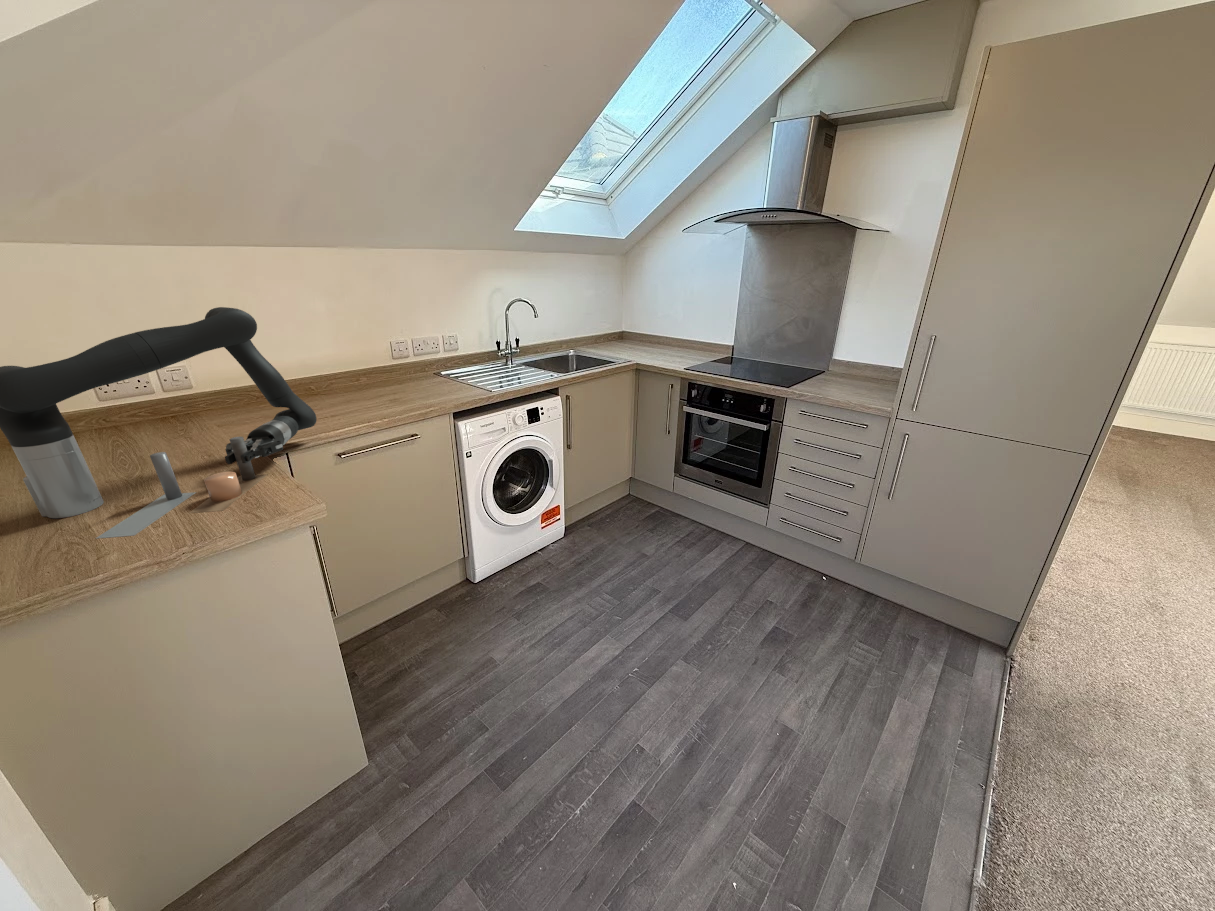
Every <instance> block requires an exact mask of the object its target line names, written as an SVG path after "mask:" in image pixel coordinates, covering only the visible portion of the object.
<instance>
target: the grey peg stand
mask: <svg viewBox="0 0 1215 911" xmlns="http://www.w3.org/2000/svg"><path fill="white" fill-rule="evenodd" d="M149 457H150V460H151V463H152V465H153V467H154V470H155V473H156V474H157V475H156V476H157V477H158V480H159V482H160V485H161V487H162V490H163V492H164V494H162V495H161V496H159V497H158V498H156V499H154V500H153V501H152V502H151V501H150V503H148V504H147V505H146V506H144V507H142V508H141V509H139V510H138V511H136V512H134V513H133V514H131V515H129V516H128V517H127V518H125V519H124V520H122V521H120V522H118V523H117V524H116V525H113V527H111V528H109V529H108V530H106V531H104V532H103V533H102V534H100V535H98V536H97V537H95V539H96V540H97V539H108V538H109V539H110V538H120V537H122V538H123V537H134V536H136V535H138V534H139V533H140V532H141V531H143V530H144V529H146V528H147V527H149V526H150V525H151V524H153V523H154V522H156V521H158V520H159V519H161V518H162V517H163V516H165V515H166V514H168V513H169V512H171V511H172V510H174V509H175V508H176V507H178V506H179V505H181V504H182V503H183V502H185V501H186V500H188V499H189V498H191V497H192V496H193V495H195V494H197V492H196V491H195V492H194V491H193V492H182V491H181V488H180V485H179V483H178V481H177V478H176V475H175V473H174V470H173V468H172V465H171V462H170V459H169V457H168V455H167V452H165V451H161V452H160V451H159V452H155V453H152V454H150V455H149Z"/></svg>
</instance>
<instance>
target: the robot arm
mask: <svg viewBox="0 0 1215 911" xmlns="http://www.w3.org/2000/svg"><path fill="white" fill-rule="evenodd" d="M257 329H258V324H257V320H255V318H254V317H253V316H252V315H251V314H250V313H249V312H246V311H244V310H242V309H238V308H235V307H224V306H220V307H214V308H211V309H210V310H208V311H207V312H206V314H205V316H204V318H203V319H201V320H198V321H195V322H192V323H188V324H186V323H185V324H180V325H172V326H166V327H165V326H164V327H157V328H150V329H145V330H139V331H135V332H131V333H128V334H123V335H121V336H117V337H114V338H111V339H108V340H105V341H102V342H101V343H98V344H97V345H94V346H91V347H90V348H87V349H86V350H84V351H82V352H80V353H78V354H76V355H73V356H70V357H68V358H64V359H60V360H56V361H51V362H48V363H43V364H40V365H33V366H27V367H23V366H19V365H2V366H0V430H1V432H2V433H3V435H4V437H5V438H6V439H7V440H8V442H9V444H10V446H11V449H12V451H13V452H14V454H15V456H16V458H17V460H18V461H19V463H20V465H21V467H22V469H23V472H24V474H25V475H26V476H25V477H23V479H22V481H23V482H24V484H25V486H26V489H27V490H28V492H29V494H30V496H31V498H32V500H33V501H34V503H35V506H36V508H37V510H38V512H39V513H40V515H41V517H47V518H50V519H61V518H70V517H74V516H79V515H82V514H85V513H88V512H91V511H94V510H95V509H97V508H99V507H100V506H103V504H104V499H103V497H102V495H101V493H100V489H98V488H99V487H98V486H97V483H96V482H95V478H94V477H93V474H92V472H91V470H90V468H89V465H88V464H87V461H86V459H85V457H84V455H83V452H82V451H81V448H80V446H79V444H78V441H77V440H76V438H75V436H74V433H73V431H72V429H71V427H70V425H69V423H68V422H67V420H66V418H65V417H64V416H63V415H62V413H61V411H60V409H59V407H58V405H57V404H58V403H61V402H63V401H65V400H68V399H70V398H73V397H74V396H77V395H81V394H82V393H84V392H85V393H86V392H87V391H89V390H90V391H91V390H92V389H95V388H98V387H99V388H100V387H103V386H108V385H112V384H115V383H119V382H122V381H126V380H129V379H133V378H136V377H139V376H143V375H146V374H149V373H153V372H155V371H158V370H161V369H164V368H166V367H170V366H172V365H174V364H177V363H180V362H182V361H186V360H188V359H190V358H193V357H195V356H196V357H197V356H198V355H201V354H203V353H206V352H209V351H213V350H218V349H221V348H222V349H223V348H224V349H226V351H228V353H230V355H231V356H232V357H233V358H234V359H235V360H236V362H237V363H238V364H239V365H240V366H241V368H243V370H244V371H245V373H246V374H247V375H248V376H249V378H250V379H251V381H252V382H253V383H254V384H255V385H256V387H257V389H258V390H259V391H260V392H261V394H262V395H263V397H264V398H265V400H266V401H267V402H268V403H269V404H270V406H272V407H274V408H287V409H285V410H282V411H280V412H278V413H276V414H275V416H274V417H273V418H272V420H270V421H267V422H265V423H262V424H261V425H259V426H257V427H256V428H254V429H253V430H252V431H250V432H249V433H248V435H247V436H246V439H244V441H245V444H246V448H247V452H245V453H244V454H242V455H241V460H242V463H248V462H249V461H251V462H252V460H254V459H258V458H259V457H261V458H266V457H269V456H270V455H273V454H276V453H278V452H280V451H283V450H284V446H285V444H286V443H287V442H288V441H290V440H291V439H292V438H293V437H295V436H296V435H297V433H298V432H299V431H303V430H305V429H310V428H312V427H315V425H316V424H317V421H318V420H317V415H316V412H315V411H314V410H313V409H312V407H311V406H309V405H310V404H309V405H308V404H307V403H306V402H305V401H304V400H303V399H301V398H300V397H299V396H298V395H297V394H296V393H295V392H294V391H293V390H292V389H291V387H290V386H289V384H288V382H287V381H286V379H285V378H284V377H283V376H282V374H281V373H280V372H279V370H277V368H275V367H274V366H273V364H272V363H270V362H269V361H268V359H266V358H265V357H264V356H263V355H262V353H261V352H260V351H259V349H257V347H256V346H255V344H254V343H253V341H252V339H253V338H254V337H255V335H256V334H257V331H258V330H257ZM225 453H226V455H225V456H224V460H225V463H227V464H226V465H233V464H235V462H237V461H236V458H235V455H234V452H233V449H232V446H231V443H230V442H229V443H227V444H226V446H225Z"/></svg>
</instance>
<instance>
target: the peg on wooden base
mask: <svg viewBox="0 0 1215 911" xmlns="http://www.w3.org/2000/svg"><path fill="white" fill-rule="evenodd" d="M229 443H231V446H232V449H233V452H234V455H235V458H236V461H235V462H236V464H237V467H238V469H239V474H240V475H238V476H237V478H238V481H239V484H240V487H241V490H242V494H241V495H240V496H238V497H236V498H233V499H230V500H226V501H220V502H215V501H212V500H211V498H210V497H209V498H207V499H206V500H203V502H202V503H200V504H199V505H198V506H196V507H195V508H193V509H192V510H191V511H189V512H188V514H197V513H211V512H222V511H223V512H224V511H225V510H226V509H227V508H229V507H230V506H231V505H232V504H234V503H235V502H236V501H237V500H238V499H239V498H241V497H242V496H244V494H246V493H247V492H248V491H250V490H251V489H252V488H253V487H255V485H257V484H258V483H259V482H261V481H262V480H264V478H265V477H267V476H269V474H255V470H254V467H253V464H252V460H251V461H249V462H248V463H242V460H241V455H242V454H244V453H245V452H247V448H246V444H245V438H244V436H235V437H231V438H229Z"/></svg>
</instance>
